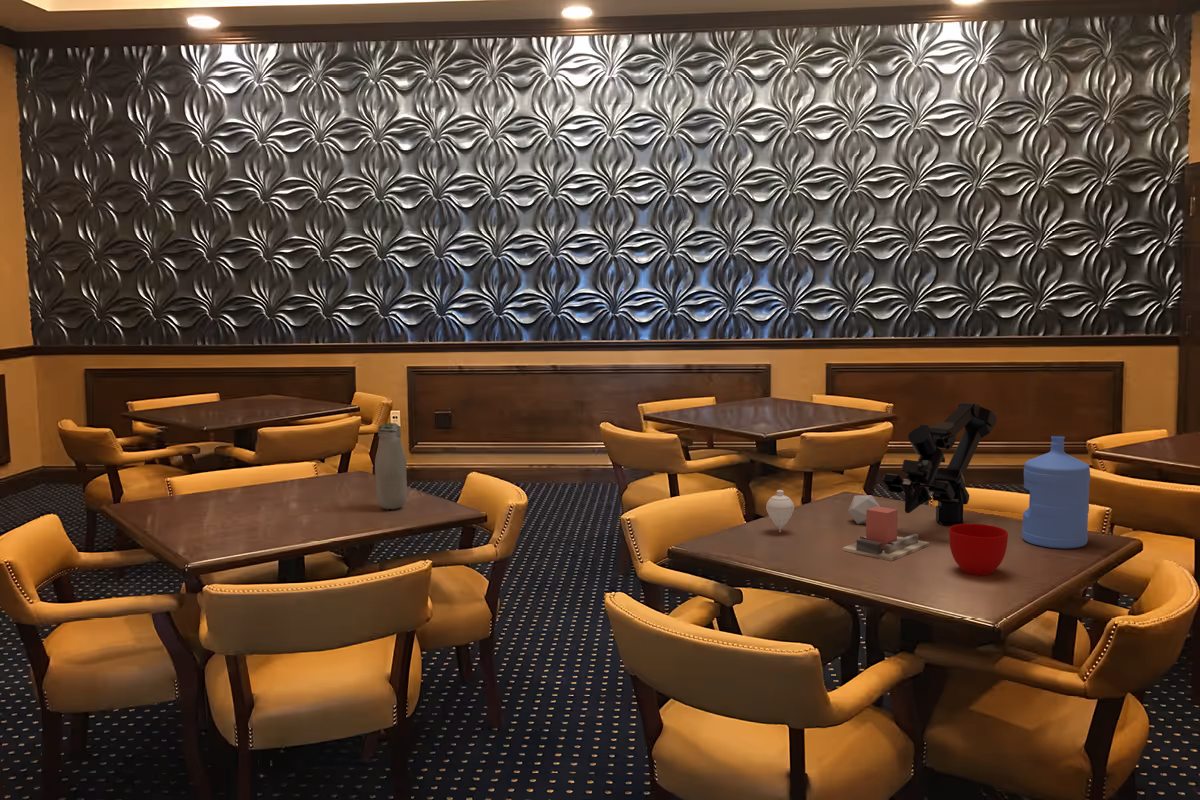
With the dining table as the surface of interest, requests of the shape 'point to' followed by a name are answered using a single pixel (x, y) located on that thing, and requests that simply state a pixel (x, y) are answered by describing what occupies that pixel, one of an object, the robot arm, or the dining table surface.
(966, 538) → the ceramic cup
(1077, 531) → the water jug
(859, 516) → the die
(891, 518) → the pink upright block
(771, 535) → the dining table surface
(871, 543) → the press stand
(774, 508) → the spinning top
